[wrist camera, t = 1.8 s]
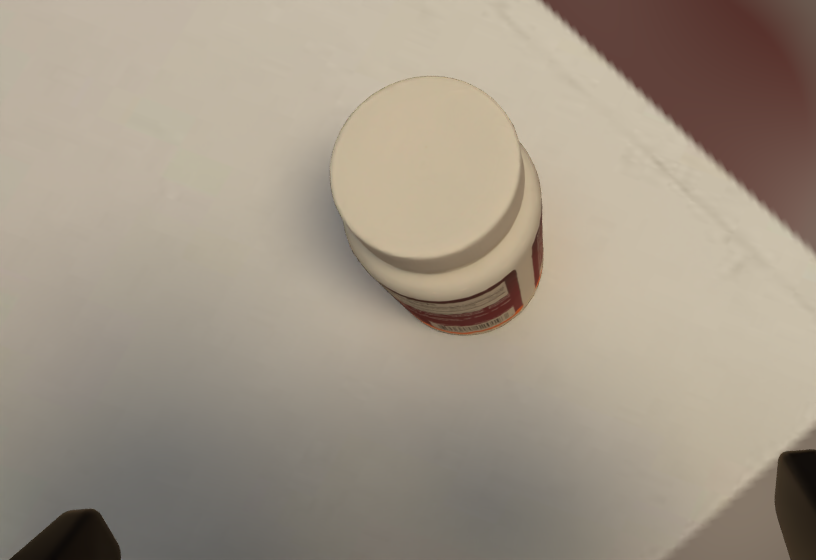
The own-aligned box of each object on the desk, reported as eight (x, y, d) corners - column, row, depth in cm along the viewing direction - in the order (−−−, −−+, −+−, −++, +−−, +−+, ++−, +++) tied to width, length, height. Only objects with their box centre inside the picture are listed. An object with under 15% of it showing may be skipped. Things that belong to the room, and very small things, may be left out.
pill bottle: (442, 164, 24) (389, 20, 16) (572, 235, 23) (586, 118, 15) (362, 288, 24) (266, 204, 16) (490, 368, 22) (459, 321, 14)
